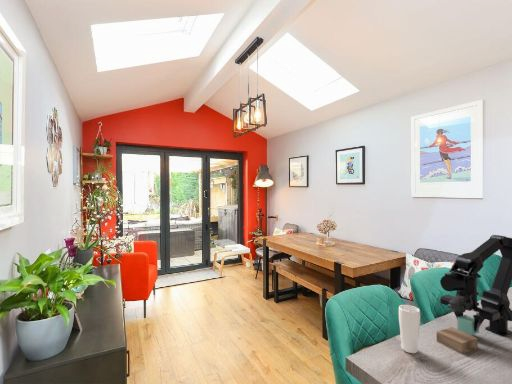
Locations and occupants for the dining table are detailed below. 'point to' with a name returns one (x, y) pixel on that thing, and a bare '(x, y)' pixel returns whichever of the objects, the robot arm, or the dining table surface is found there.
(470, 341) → the walnut block
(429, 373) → the dining table surface
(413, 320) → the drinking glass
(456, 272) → the robot arm
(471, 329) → the teal cube
